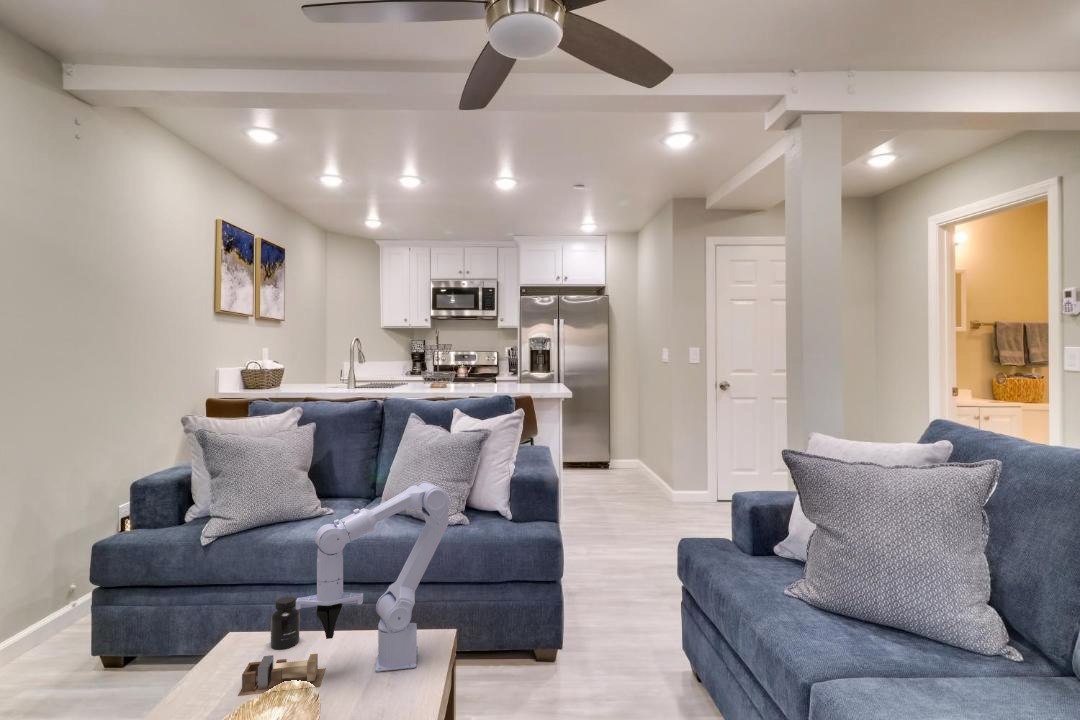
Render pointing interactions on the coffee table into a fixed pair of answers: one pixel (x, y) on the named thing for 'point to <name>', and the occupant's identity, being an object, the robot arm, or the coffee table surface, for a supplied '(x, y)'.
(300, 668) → the shaft
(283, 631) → the supplement bottle
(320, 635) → the coffee table surface
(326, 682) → the coffee table surface
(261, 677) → the collar
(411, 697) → the coffee table surface
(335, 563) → the robot arm
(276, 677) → the jig
